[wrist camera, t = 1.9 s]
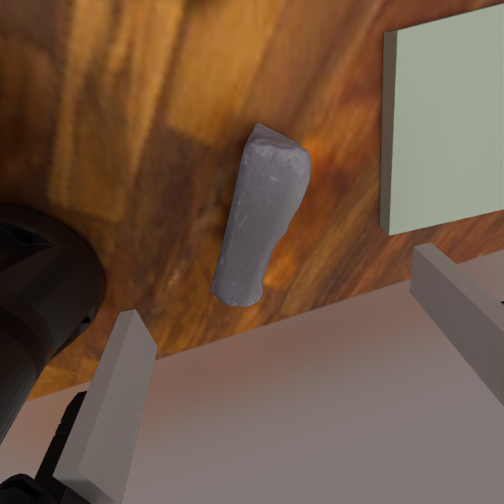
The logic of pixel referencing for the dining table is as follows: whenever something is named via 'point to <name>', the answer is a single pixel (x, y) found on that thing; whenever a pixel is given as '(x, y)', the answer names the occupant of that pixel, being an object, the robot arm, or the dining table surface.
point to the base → (443, 120)
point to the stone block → (259, 213)
